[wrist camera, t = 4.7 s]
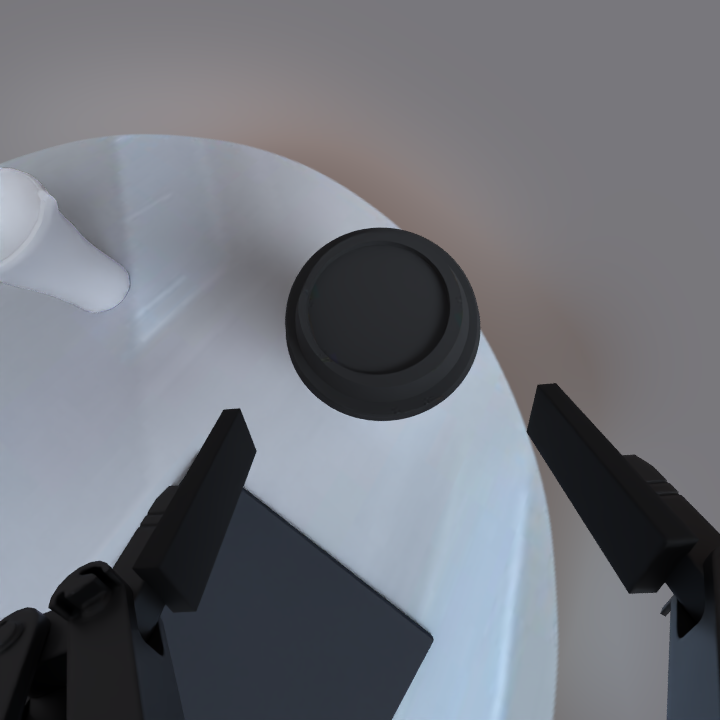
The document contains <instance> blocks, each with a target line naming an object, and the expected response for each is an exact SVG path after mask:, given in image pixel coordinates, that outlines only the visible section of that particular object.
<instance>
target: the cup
mask: <svg viewBox="0 0 720 720" xmlns="http://www.w3.org/2000/svg"><path fill="white" fill-rule="evenodd" d="M0 283H4V284H8V285H11V286H14V287H18V288H23V289H29V290H33V291H36V292H40V293H43V294H46V295H49V296H53V297H55V298H58V299H61V300H63V301H66V302H68V303H70V304H73V305H75V306H77V307H79V308H80V309H82V310H85V311H87V312H93V313H99V312H103V311H107V310H110V309H112V308H114V307H116V306H117V305H118V304H119V303H120V302H121V301H122V300H123V299H124V298H125V296H126V294H127V292H128V290H129V286H130V281H129V274H128V272H127V271H126V270H125V268H124V267H123V266H122V265H121V264H119V263H118V262H116V261H115V260H113V259H112V258H111V257H109V256H108V255H106V254H105V253H103V252H102V251H101V250H99V249H98V248H97V247H95V246H94V245H93V244H92V243H90V242H89V241H88V240H87V239H85V238H84V237H83V236H82V235H81V233H80V232H79V231H78V230H77V229H76V227H75V226H74V225H73V224H72V223H71V222H70V221H69V220H68V219H66V218H65V217H64V216H63V215H62V213H61V212H60V211H59V209H58V204H57V201H56V199H55V198H53V197H52V196H51V195H50V194H49V193H48V191H47V190H46V189H45V187H44V186H43V185H42V184H41V183H40V182H39V181H38V180H37V179H36V178H34V177H33V176H32V175H30V174H29V173H26V172H23V171H20V170H17V169H13V168H1V167H0Z"/></svg>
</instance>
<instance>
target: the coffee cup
mask: <svg viewBox="0 0 720 720" xmlns="http://www.w3.org/2000/svg"><path fill="white" fill-rule="evenodd" d="M285 326H286V340H287V347H288V351H289V355H290V358H291V361H292V363H293V366H294V368H295V370H296V372H297V374H298V375H299V377H300V378H301V380H302V381H303V383H304V384H305V385H306V386H307V388H308V389H309V390H310V391H311V392H312V393H313V394H314V395H315V396H316V397H317V398H319V399H320V400H321V401H322V402H324V403H325V404H327V405H328V406H330V407H331V408H333V409H335V410H337V411H339V412H341V413H344V414H346V415H349V416H352V417H356V418H360V419H365V420H373V421H391V420H399V419H404V418H408V417H412V416H415V415H418V414H420V413H423V412H425V411H427V410H429V409H431V408H433V407H434V406H436V405H438V404H439V403H441V402H442V401H443V400H445V399H446V398H447V397H448V396H449V395H451V394H452V393H453V392H454V391H455V390H456V388H457V387H458V386H459V385H460V384H461V383H462V381H463V380H464V378H465V377H466V375H467V374H468V372H469V370H470V368H471V366H472V364H473V362H474V359H475V357H476V354H477V350H478V346H479V340H480V316H479V311H478V306H477V302H476V298H475V295H474V292H473V289H472V287H471V285H470V283H469V281H468V279H467V277H466V275H465V274H464V272H463V270H462V269H461V268H460V266H459V265H458V264H457V263H456V262H455V260H454V259H453V258H452V257H451V256H450V255H449V254H448V253H447V252H445V251H444V250H443V249H442V248H440V247H439V246H438V245H436V244H434V243H433V242H431V241H429V240H428V239H426V238H424V237H422V236H419V235H417V234H414V233H411V232H408V231H404V230H400V229H393V228H368V229H362V230H357V231H354V232H351V233H348V234H345V235H342V236H340V237H338V238H336V239H334V240H332V241H331V242H329V243H328V244H326V245H325V246H323V247H322V248H321V249H319V250H318V251H317V252H316V253H315V254H314V255H313V256H312V257H311V258H310V259H309V260H308V261H307V262H306V264H305V265H304V266H303V268H302V269H301V270H300V272H299V274H298V275H297V277H296V279H295V281H294V283H293V286H292V288H291V291H290V294H289V297H288V301H287V307H286V316H285Z"/></svg>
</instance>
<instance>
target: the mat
mask: <svg viewBox="0 0 720 720" xmlns="http://www.w3.org/2000/svg"><path fill="white" fill-rule="evenodd" d="M182 481H183V480H182ZM182 481H181V482H182ZM180 484H181V483H180ZM180 484H179V485H180ZM160 618H161V619H162V621H163V624H164V629H165V633H166V638H167V642H168V646H169V651H170V655H171V660H172V664H173V669H174V673H175V678H176V682H177V687H178V691H179V696H180V700H181V705H182V709H183V714H184V718H185V720H392V718H393V716H394V714H395V712H396V711H397V709H398V707H399V705H400V703H401V701H402V699H403V697H404V695H405V694H406V692H407V690H408V688H409V686H410V684H411V682H412V680H413V678H414V677H415V675H416V673H417V671H418V669H419V667H420V665H421V663H422V661H423V660H424V658H425V656H426V654H427V652H428V650H429V648H430V646H431V644H432V643H433V636H432V635H431V634H429V633H428V632H427V631H425V630H424V629H423V628H422V627H420V626H419V625H418V624H416V623H415V622H414V621H413V620H411V619H410V618H409V617H408V616H406V615H405V614H404V613H402V612H401V611H400V610H399V609H397V608H396V607H395V606H393V605H392V604H391V603H390V602H388V601H387V600H386V599H385V598H383V597H382V596H381V595H379V594H378V593H377V592H376V591H374V590H373V589H372V588H371V587H369V586H368V585H367V584H365V583H364V582H363V581H362V580H360V579H359V578H358V577H356V576H355V575H354V574H353V573H351V572H350V571H349V570H348V569H346V568H345V567H344V566H342V565H341V564H340V563H339V562H337V561H336V560H335V559H333V558H332V557H331V556H330V555H328V554H327V553H326V552H325V551H323V550H322V549H321V548H319V547H318V546H317V545H316V544H314V543H313V542H312V541H311V540H309V539H308V538H307V537H305V536H304V535H303V534H302V533H300V532H299V531H298V530H296V529H295V528H294V527H293V526H291V525H290V524H289V523H288V522H286V521H285V520H284V519H282V518H281V517H280V516H279V515H277V514H276V513H275V512H273V511H272V510H271V509H270V508H268V507H267V506H266V505H265V504H263V503H262V502H261V501H259V500H258V499H257V498H256V497H254V496H253V495H252V494H250V493H249V492H248V491H247V490H245V489H244V488H243V489H242V491H241V494H240V497H239V499H238V502H237V505H236V507H235V510H234V513H233V515H232V518H231V521H230V523H229V526H228V529H227V531H226V534H225V537H224V539H223V542H222V545H221V547H220V550H219V553H218V555H217V558H216V561H215V563H214V566H213V569H212V571H211V574H210V577H209V579H208V582H207V585H206V587H205V590H204V593H203V595H202V598H201V601H200V603H199V606H198V609H197V611H196V612H178V613H173V612H172V611H171V610H170V609H169V608H168V607H167V606H166V605H165V607H164V609H163V611H162V613H161V615H160Z"/></svg>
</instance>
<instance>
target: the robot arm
mask: <svg viewBox="0 0 720 720" xmlns="http://www.w3.org/2000/svg"><path fill="white" fill-rule="evenodd" d="M527 433H528V435H529V436H530V438H531V440H532V441H533V443H534V444H535V446H536V448H537V449H538V451H539V452H540V454H541V455H542V457H543V459H544V460H545V462H546V463H547V465H548V466H549V468H550V470H551V471H552V473H553V474H554V476H555V477H556V479H557V481H558V482H559V484H560V485H561V487H562V488H563V490H564V492H565V493H566V495H567V496H568V498H569V499H570V501H571V502H572V504H573V506H574V507H575V509H576V511H577V512H578V514H579V515H580V517H581V518H582V520H583V522H584V523H585V525H586V526H587V528H588V530H589V531H590V533H591V534H592V536H593V537H594V539H595V541H596V542H597V544H598V545H599V547H600V548H601V550H602V552H603V553H604V555H605V556H606V558H607V559H608V561H609V562H610V564H611V566H612V567H613V569H614V570H615V572H616V574H617V575H618V577H619V578H620V580H621V582H622V583H623V585H624V586H625V588H626V590H627V591H628V593H629V594H631V593H632V594H633V593H656V592H657V591H658V590H659V589H660V588H661V586H662V585H663V584H664V583H666V584H667V585H668V587H669V588H670V589H671V591H672V592H673V594H674V595H673V596H672V597H671V599H670V600H669V601H668V602H667V603H666V604H665V605H664V607H663V608H662V611H661V613H660V614H662V615H664V616H666V615H667V614H668V613H669V612H670V611H671V614H670V642H669V670H668V699H667V720H720V534H719V533H718V532H717V531H716V530H715V529H714V527H713V526H711V524H710V523H708V521H707V520H706V519H705V518H704V517H703V516H702V515H701V514H700V513H699V512H698V511H697V510H696V509H695V508H694V507H693V506H692V505H691V504H690V503H689V502H688V501H687V500H686V499H685V498H684V497H683V496H682V495H679V494H678V491H677V490H676V489H675V488H674V487H673V486H672V485H671V484H670V483H667V480H666V479H665V478H664V477H663V476H662V475H661V474H660V473H659V472H658V471H657V470H656V469H655V468H654V467H653V466H652V465H650V464H649V463H647V462H646V461H644V460H642V459H641V458H639V457H637V456H636V455H621V454H620V453H619V451H618V450H617V449H616V448H615V447H614V446H613V445H612V444H611V443H610V442H609V441H608V440H607V439H606V437H605V436H604V435H603V434H602V433H601V432H600V431H599V430H598V429H597V428H596V426H595V425H594V424H593V423H592V422H591V421H590V420H589V419H588V418H587V417H586V415H585V414H584V413H583V412H582V411H581V410H580V409H579V408H578V407H577V406H576V405H575V404H574V402H573V401H572V400H571V399H570V398H569V397H568V396H567V395H566V394H565V393H564V392H563V390H561V388H560V387H559V386H558V385H557V384H556V383H554V384H542V385H538V386H537V389H536V394H535V398H534V403H533V407H532V411H531V415H530V420H529V424H528V428H527ZM255 454H256V448H255V446H254V443H253V441H252V438H251V435H250V433H249V430H248V428H247V425H246V422H245V420H244V417H243V415H242V412H241V410H240V408H239V409H226V410H223V412H222V413H221V415H220V417H219V419H218V420H217V422H216V424H215V425H214V427H213V429H212V431H211V432H210V434H209V436H208V438H207V439H206V441H205V443H204V444H203V446H202V448H201V450H200V451H199V453H198V455H197V457H196V458H195V460H194V462H193V463H192V465H191V467H190V469H189V470H188V472H187V474H186V476H185V477H184V479H183V481H182V482H181V484H180V485H178V486H169V487H168V488H167V489H166V490H165V491H164V492H163V493H162V494H161V495H160V496H159V497H158V498H157V499H156V500H155V502H154V503H153V505H152V506H151V508H150V510H149V511H148V515H147V516H145V518H144V519H143V521H142V522H141V524H140V527H138V529H137V530H136V532H135V534H134V535H133V537H132V538H131V540H130V542H129V543H128V545H127V546H126V548H125V550H124V551H123V553H122V554H121V556H120V558H119V559H118V561H117V562H116V564H115V565H114V567H113V569H112V568H111V567H110V566H109V565H108V564H107V563H105V562H102V561H95V562H90V563H88V564H86V565H84V566H82V567H80V568H78V569H77V570H75V571H74V572H73V573H71V574H70V575H69V576H68V577H67V578H66V579H65V580H64V581H63V582H62V583H61V584H60V585H59V586H58V587H57V589H56V591H55V592H54V594H53V595H52V597H51V600H50V603H49V607H48V608H50V609H51V610H52V611H49V612H47V613H44V614H42V613H41V612H39V611H38V610H36V609H35V608H28V607H27V608H24V609H21V610H17V611H15V612H14V613H12V614H10V615H9V616H7V617H5V618H4V619H2V620H1V621H0V720H185V718H184V714H183V709H182V705H181V700H180V696H179V691H178V687H177V682H176V678H175V673H174V669H173V664H172V660H171V655H170V651H169V646H168V642H167V638H166V633H165V629H164V624H163V621H162V619H161V618H160V615H161V613H162V611H163V609H164V607H165V605H166V606H167V607H168V608H169V609H170V610H171V611H172V612H173V613H178V612H196V611H197V609H198V606H199V603H200V601H201V598H202V595H203V593H204V590H205V587H206V585H207V582H208V579H209V577H210V574H211V571H212V569H213V566H214V563H215V561H216V558H217V555H218V553H219V550H220V547H221V545H222V542H223V539H224V537H225V534H226V531H227V529H228V526H229V523H230V521H231V518H232V515H233V513H234V510H235V507H236V505H237V502H238V499H239V497H240V494H241V491H242V489H243V486H244V483H245V481H246V478H247V475H248V473H249V470H250V467H251V465H252V462H253V459H254V457H255Z"/></svg>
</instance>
